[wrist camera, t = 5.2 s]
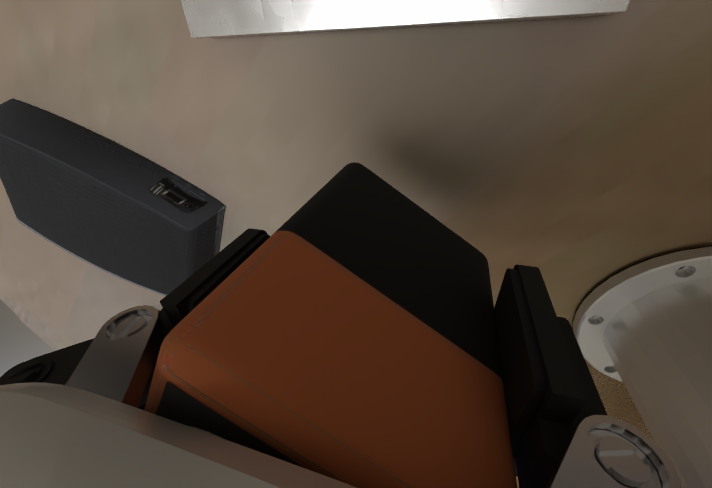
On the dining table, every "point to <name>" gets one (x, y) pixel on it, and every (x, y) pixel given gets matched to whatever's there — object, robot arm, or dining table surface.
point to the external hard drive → (105, 200)
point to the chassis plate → (371, 14)
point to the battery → (350, 348)
